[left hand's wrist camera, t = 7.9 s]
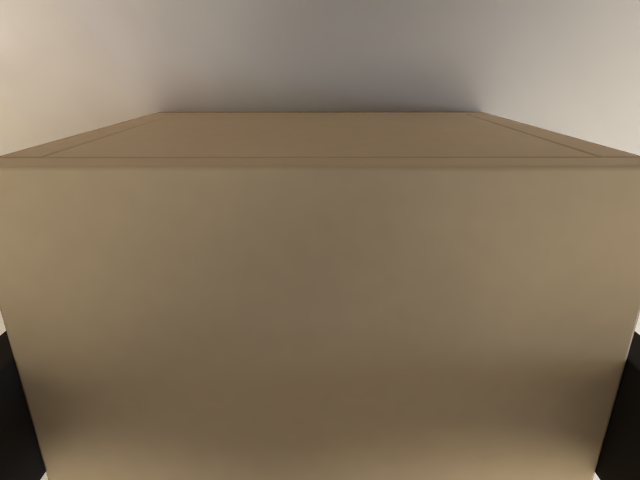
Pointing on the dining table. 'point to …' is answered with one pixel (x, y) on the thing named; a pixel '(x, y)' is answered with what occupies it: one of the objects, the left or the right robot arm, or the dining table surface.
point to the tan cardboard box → (320, 296)
